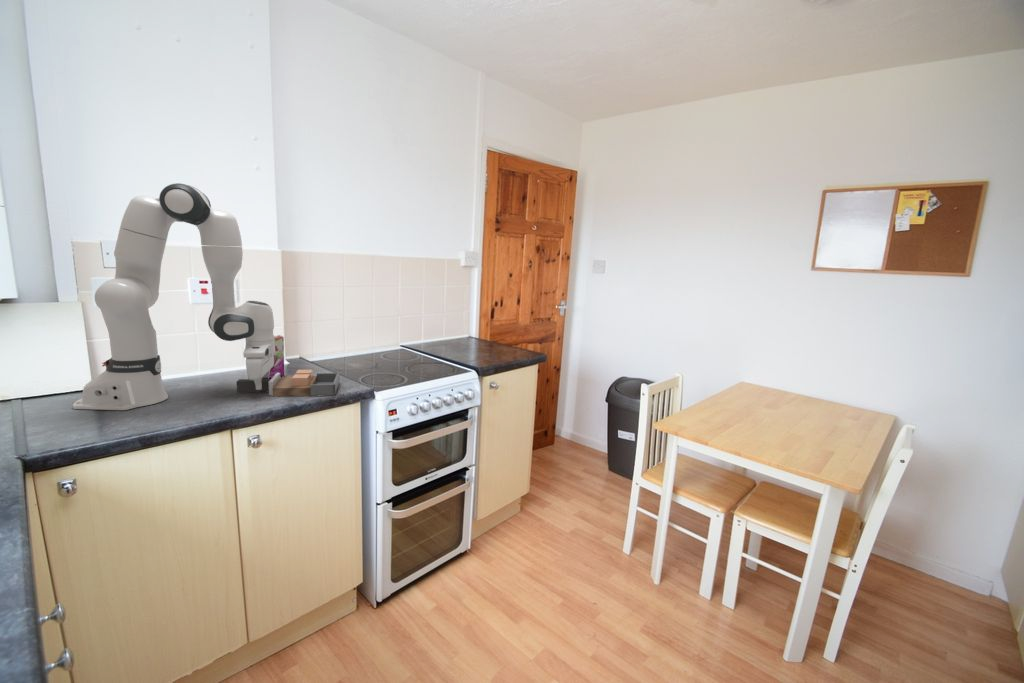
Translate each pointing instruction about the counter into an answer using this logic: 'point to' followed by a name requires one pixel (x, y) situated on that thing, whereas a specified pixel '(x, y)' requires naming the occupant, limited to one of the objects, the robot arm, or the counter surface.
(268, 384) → the scraper
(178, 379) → the counter surface
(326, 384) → the tray
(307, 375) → the tile
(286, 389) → the board
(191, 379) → the counter surface
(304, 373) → the tile
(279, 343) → the candy bar box
